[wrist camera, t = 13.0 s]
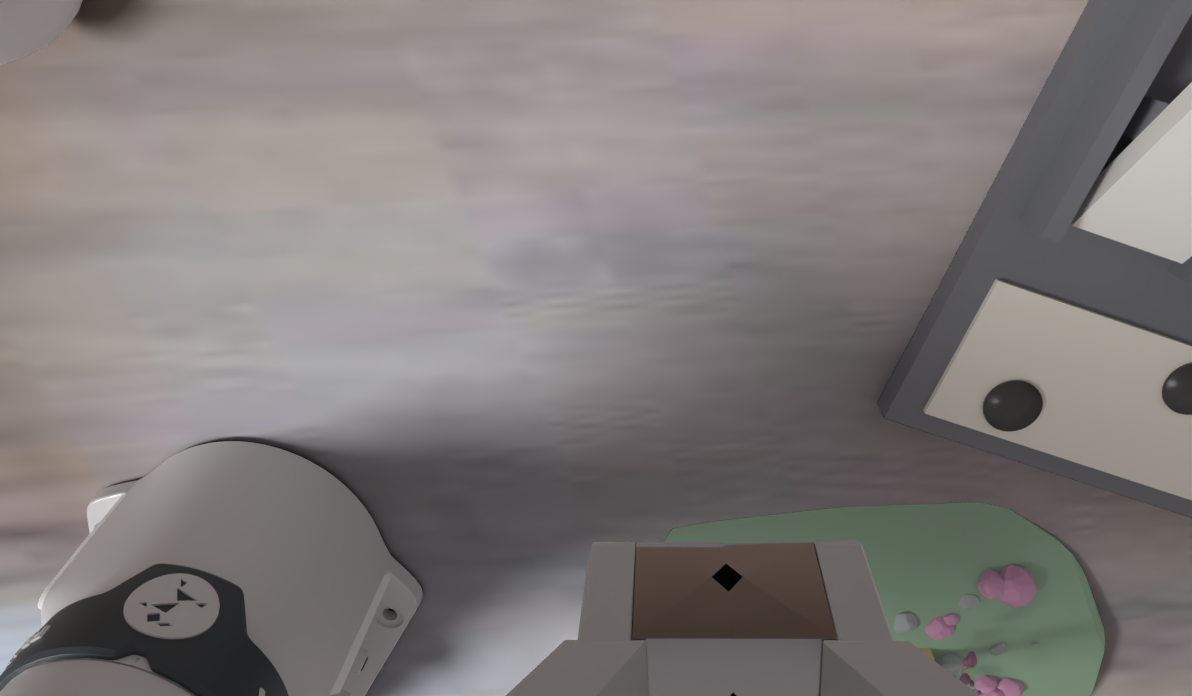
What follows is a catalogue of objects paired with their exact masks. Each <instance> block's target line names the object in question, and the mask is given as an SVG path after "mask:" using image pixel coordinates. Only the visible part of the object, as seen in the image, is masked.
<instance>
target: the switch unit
mask: <svg viewBox="0 0 1192 696" xmlns="http://www.w3.org/2000/svg"><path fill="white" fill-rule="evenodd" d="M1191 82H1192V0H1089V2H1088V4H1087V6H1086V8H1085V9H1084V11H1083V13H1082V15H1081V17H1080V19H1079V21H1078V23H1077V25H1076V27H1075V28H1074V30H1073V32H1072V34H1071V36H1070V38H1069V40H1068V42H1067V44H1066V46H1065V48H1064V49H1063V51H1062V53H1061V55H1060V57H1059V59H1058V61H1057V63H1056V65H1055V67H1054V68H1053V70H1052V72H1051V74H1050V76H1049V78H1048V80H1047V82H1046V84H1045V86H1044V87H1043V89H1042V91H1041V93H1040V95H1039V97H1038V99H1037V101H1036V103H1035V105H1034V106H1033V108H1032V110H1031V112H1030V114H1029V116H1028V118H1027V120H1026V122H1025V124H1024V125H1023V127H1022V129H1021V131H1020V133H1019V135H1018V137H1017V139H1016V141H1015V143H1014V144H1013V146H1012V148H1011V150H1010V152H1009V154H1008V156H1007V158H1006V160H1005V162H1004V163H1003V165H1002V167H1001V169H1000V171H999V173H998V175H997V177H996V179H995V181H994V182H993V184H992V186H991V188H990V190H989V192H988V194H987V196H986V198H985V200H984V202H983V203H982V205H981V207H980V209H979V211H978V213H977V215H976V217H975V219H974V221H973V222H972V224H971V226H970V228H969V230H968V232H967V234H966V236H965V238H964V240H963V241H962V243H961V245H960V247H959V249H958V251H957V253H956V255H955V257H954V259H953V260H952V262H951V264H950V266H949V268H948V270H947V272H946V274H945V276H944V278H943V279H942V281H941V283H940V285H939V287H938V289H937V291H936V293H935V295H934V297H933V298H932V300H931V302H930V304H929V306H928V308H927V310H926V312H925V314H924V316H923V317H922V319H921V321H920V323H919V325H918V327H917V329H916V331H915V333H914V335H913V337H912V338H911V340H910V342H909V344H908V346H907V348H906V350H905V352H904V354H903V356H902V357H901V359H900V361H899V363H898V365H897V367H896V369H895V371H894V373H893V375H892V376H891V378H890V380H889V382H888V384H887V386H886V388H885V390H884V392H883V394H882V395H881V397H880V399H879V401H878V403H877V404H878V406H879V408H880V410H881V413H882V415H883V417H884V418H885V419H888V420H891V421H894V422H897V423H900V424H903V425H906V426H909V427H913V428H916V429H919V430H922V431H925V432H928V433H931V434H934V435H937V436H940V437H943V438H946V439H950V440H953V441H956V442H959V443H962V444H965V445H968V446H971V447H974V448H977V449H980V450H983V451H987V452H990V453H993V454H996V455H999V456H1002V457H1005V458H1008V459H1011V460H1014V461H1017V462H1021V463H1024V464H1027V465H1030V466H1033V467H1036V468H1039V469H1042V470H1045V471H1048V472H1051V473H1054V474H1058V475H1061V476H1064V477H1067V478H1070V479H1073V480H1076V481H1079V482H1082V483H1085V484H1088V485H1091V486H1095V487H1098V488H1101V489H1104V490H1107V491H1110V492H1113V493H1116V494H1119V495H1122V496H1125V497H1129V498H1132V499H1135V500H1138V501H1141V502H1144V503H1147V504H1150V505H1153V506H1156V507H1159V508H1162V509H1166V510H1169V511H1172V512H1175V513H1178V514H1181V515H1184V516H1187V517H1190V518H1192V256H1191V257H1190V258H1189V259H1188V260H1186V261H1185V262H1184V263H1183V264H1181V263H1179V262H1176V261H1173V260H1170V259H1167V258H1164V257H1161V256H1158V255H1155V254H1152V253H1150V252H1147V251H1144V250H1141V249H1138V248H1135V247H1132V246H1129V245H1126V244H1123V243H1121V242H1118V241H1115V240H1112V239H1109V238H1106V237H1103V236H1100V235H1097V234H1094V233H1092V232H1089V231H1086V230H1083V229H1080V228H1077V227H1074V226H1072V225H1071V222H1072V221H1073V219H1074V217H1075V215H1076V214H1077V212H1078V210H1079V208H1080V207H1081V205H1082V203H1083V201H1084V200H1085V198H1086V196H1087V195H1088V193H1089V191H1090V189H1091V188H1092V186H1093V184H1094V182H1095V181H1096V179H1097V177H1098V176H1099V175H1100V174H1101V173H1102V172H1103V171H1104V170H1105V169H1106V168H1107V166H1108V165H1109V164H1110V163H1111V162H1112V161H1113V160H1114V159H1115V158H1116V157H1117V156H1118V155H1119V154H1120V153H1121V152H1122V151H1123V150H1124V149H1125V148H1126V147H1127V146H1128V145H1129V144H1130V143H1131V142H1132V141H1133V140H1134V139H1135V138H1136V137H1137V136H1138V135H1139V134H1140V133H1141V132H1142V131H1143V130H1144V129H1145V128H1146V127H1147V126H1148V125H1149V124H1150V123H1151V122H1152V121H1153V120H1154V119H1155V118H1156V117H1157V116H1158V115H1159V114H1160V113H1161V112H1162V111H1163V110H1164V109H1165V108H1166V107H1167V106H1168V105H1169V104H1170V103H1171V102H1172V101H1173V100H1174V99H1175V98H1176V97H1177V96H1178V95H1179V94H1180V93H1181V92H1182V91H1183V90H1184V89H1185V88H1186V87H1187V86H1188V85H1189V84H1190V83H1191Z"/></svg>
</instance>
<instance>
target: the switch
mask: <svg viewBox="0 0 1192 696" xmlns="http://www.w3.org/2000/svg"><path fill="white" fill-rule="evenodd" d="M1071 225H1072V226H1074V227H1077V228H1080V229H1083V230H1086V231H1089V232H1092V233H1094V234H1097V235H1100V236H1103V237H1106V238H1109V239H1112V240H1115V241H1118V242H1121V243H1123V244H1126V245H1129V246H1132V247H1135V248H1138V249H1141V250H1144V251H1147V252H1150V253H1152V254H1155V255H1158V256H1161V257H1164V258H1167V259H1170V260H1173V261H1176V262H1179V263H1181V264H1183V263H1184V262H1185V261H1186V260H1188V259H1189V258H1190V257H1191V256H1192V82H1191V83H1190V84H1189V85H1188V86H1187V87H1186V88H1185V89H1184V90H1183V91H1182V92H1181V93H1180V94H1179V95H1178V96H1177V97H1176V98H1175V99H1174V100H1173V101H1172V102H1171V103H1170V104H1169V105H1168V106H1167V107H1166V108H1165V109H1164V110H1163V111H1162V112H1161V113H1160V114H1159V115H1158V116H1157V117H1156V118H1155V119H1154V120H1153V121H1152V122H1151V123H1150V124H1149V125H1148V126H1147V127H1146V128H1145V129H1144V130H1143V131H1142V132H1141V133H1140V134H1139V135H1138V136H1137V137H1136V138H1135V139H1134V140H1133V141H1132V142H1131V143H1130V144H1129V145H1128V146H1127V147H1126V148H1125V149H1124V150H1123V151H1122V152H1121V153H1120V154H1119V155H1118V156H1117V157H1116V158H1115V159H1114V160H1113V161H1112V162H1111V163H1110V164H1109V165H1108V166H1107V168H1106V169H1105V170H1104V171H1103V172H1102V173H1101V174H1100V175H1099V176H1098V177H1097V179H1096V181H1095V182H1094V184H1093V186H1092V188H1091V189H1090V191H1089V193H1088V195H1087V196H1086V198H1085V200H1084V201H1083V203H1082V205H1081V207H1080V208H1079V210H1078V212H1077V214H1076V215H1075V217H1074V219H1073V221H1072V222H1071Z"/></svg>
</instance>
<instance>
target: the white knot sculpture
mask: <svg viewBox="0 0 1192 696" xmlns="http://www.w3.org/2000/svg"><path fill="white" fill-rule="evenodd" d="M82 1H83V0H0V65H2V64H5V63H8V62H12V61H15V60H18V59H21V58H24V57H26V56H28V55H30V54H31V53H33V52H35V51H37V50H39V49H41V48H42V47H44V46H46V45H48V44H50V43H51V42H52V41H53V40H54V39H55V38H57V37H58V36H59V35H60V34H61V33H62V32H63V31H65V30H66V29H67V28H68V26H69V25H70V23H71V22H72V20H73V19H74V17H75V16H76V15H77V13H78V12H79V9H80V6H81V4H82Z"/></svg>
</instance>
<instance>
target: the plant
mask: <svg viewBox="0 0 1192 696" xmlns="http://www.w3.org/2000/svg"><path fill="white" fill-rule="evenodd" d="M849 539H857V540H858V541H859V542H860V543H861V544H862V546H863V549H864V552H865V555H866V558H867V561H868V564H869V567H870V570H871V573H872V576H873V579H874V582H875V585H876V588H877V591H878V594H879V597H880V600H881V603H882V606H883V609H884V612H885V615H886V618H887V621H888V624H889V627H890V630H891V633H892V636H893V639H894V641H909V642H910V643H912V644H913V645H914V646H916V647H917V648H918V649H919V650H921V651H922V652H923V653H925V654H926V655H927V656H929V657H930V658H931V659H933V660H934V661H935V662H936V663H938V664H939V665H940V666H942V667H943V668H944V669H946V670H947V671H948V672H950V673H951V674H952V675H953V676H955V677H956V678H957V679H959V680H960V681H961V682H963V683H964V684H965V685H967V686H968V687H969V688H970V689H972V690H973V691H974V692H976V693H977V694H978V695H980V696H1091V694H1092V691H1093V689H1094V686H1095V683H1096V680H1097V676H1098V673H1099V669H1100V666H1101V662H1102V659H1103V655H1104V649H1105V633H1104V627H1103V624H1102V621H1101V618H1100V615H1099V612H1098V609H1097V607H1096V604H1095V601H1094V598H1093V595H1092V592H1091V589H1090V586H1089V583H1088V581H1087V578H1086V576H1085V574H1084V572H1083V570H1082V568H1081V566H1080V565H1079V563H1078V561H1077V560H1076V558H1075V557H1074V556H1073V554H1072V553H1071V552H1070V551H1069V550H1068V549H1067V548H1066V547H1065V546H1064V545H1063V544H1062V543H1061V542H1060V541H1059V540H1057V539H1056V538H1055V537H1053V536H1052V535H1051V534H1049V533H1048V532H1046V531H1045V530H1043V529H1041V528H1040V527H1038V526H1036V525H1035V524H1033V523H1032V522H1030V521H1028V520H1027V519H1025V518H1023V517H1022V516H1020V515H1018V514H1017V513H1015V512H1014V511H1012V510H1010V509H1007V508H1004V507H999V506H995V505H991V504H987V503H983V502H966V503H937V504H909V505H880V506H852V507H837V508H828V509H819V510H810V511H801V512H792V513H783V514H774V515H766V516H757V517H748V518H739V519H730V520H721V521H713V522H707V523H701V524H696V525H690V526H684V527H678V528H673V529H672V530H671V531H670V532H669V534H668V535H667V537H666V538H665V540H664V541H663V542H700V543H724V544H731V543H807V542H812V541H822V540H849Z"/></svg>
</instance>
